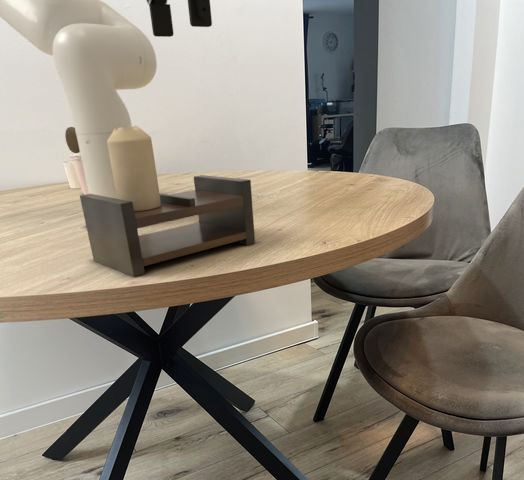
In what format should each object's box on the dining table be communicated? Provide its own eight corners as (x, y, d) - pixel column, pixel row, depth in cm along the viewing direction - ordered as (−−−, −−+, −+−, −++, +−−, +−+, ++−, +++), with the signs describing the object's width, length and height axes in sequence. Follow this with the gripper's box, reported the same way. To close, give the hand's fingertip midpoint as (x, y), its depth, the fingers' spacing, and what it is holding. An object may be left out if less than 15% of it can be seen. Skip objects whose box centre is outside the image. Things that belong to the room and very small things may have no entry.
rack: (93, 260, 72) (79, 195, 69) (208, 232, 84) (201, 174, 80) (134, 277, 64) (120, 203, 60) (255, 243, 75) (250, 179, 71)
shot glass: (63, 189, 144) (57, 163, 141) (75, 185, 150) (69, 160, 147) (86, 188, 143) (80, 161, 140) (97, 184, 149) (92, 159, 146)
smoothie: (84, 191, 136) (72, 135, 130) (107, 190, 135) (96, 133, 129) (73, 196, 131) (60, 137, 124) (97, 195, 130) (85, 135, 124)
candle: (151, 211, 65) (138, 126, 61) (112, 212, 67) (96, 129, 62) (167, 203, 70) (155, 123, 66) (130, 204, 71) (116, 126, 67)
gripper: (105, -109, 69) (128, 39, 76) (174, -162, 56) (193, 21, 64) (154, -100, 73) (172, 40, 80) (228, -147, 61) (240, 23, 68)
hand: (181, 31), depth 72 cm, fingers open, 9 cm apart
